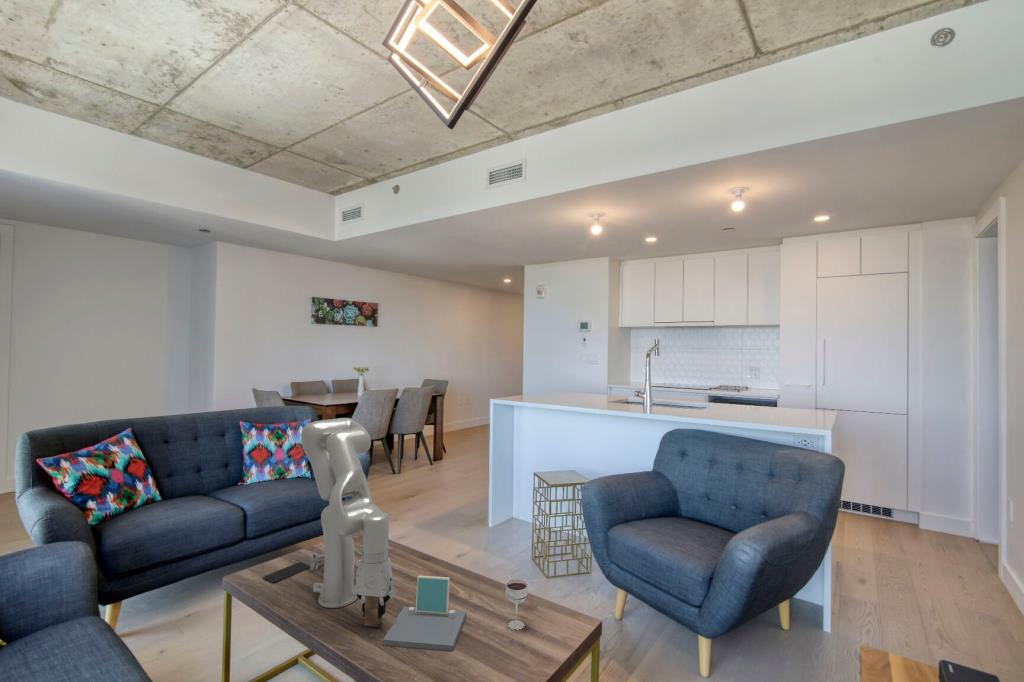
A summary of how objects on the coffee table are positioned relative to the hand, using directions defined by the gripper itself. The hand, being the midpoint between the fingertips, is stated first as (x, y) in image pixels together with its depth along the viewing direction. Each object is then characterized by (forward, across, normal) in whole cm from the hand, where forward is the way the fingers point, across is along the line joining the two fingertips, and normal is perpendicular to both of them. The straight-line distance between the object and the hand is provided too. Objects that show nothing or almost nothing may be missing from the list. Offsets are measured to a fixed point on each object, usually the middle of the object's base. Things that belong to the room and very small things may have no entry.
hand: (373, 614), depth 142 cm
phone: (+5, -44, +26) cm, 52 cm away
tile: (-5, +16, +6) cm, 18 cm away
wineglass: (+2, +43, +6) cm, 43 cm away
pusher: (+2, 0, 0) cm, 2 cm away
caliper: (+5, -32, +38) cm, 50 cm away
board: (+3, +17, 0) cm, 17 cm away
